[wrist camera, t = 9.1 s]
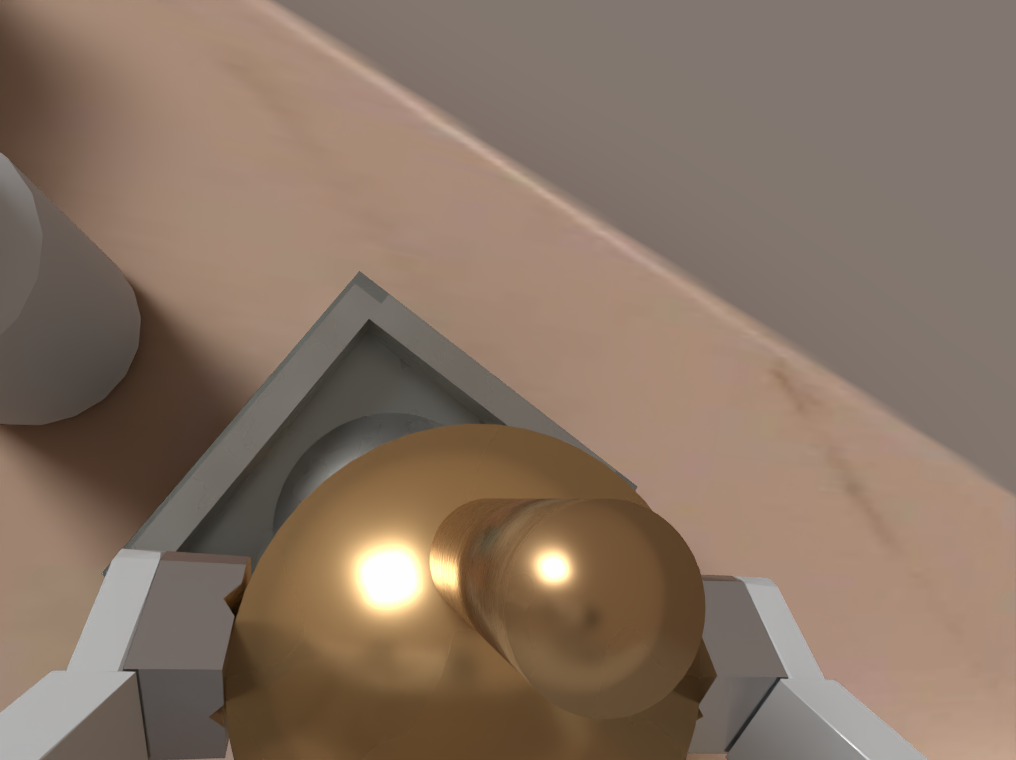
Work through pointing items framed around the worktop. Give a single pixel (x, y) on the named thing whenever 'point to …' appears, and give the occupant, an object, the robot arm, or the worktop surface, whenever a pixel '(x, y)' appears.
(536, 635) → the spout can
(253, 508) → the grey square box
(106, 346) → the can
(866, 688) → the worktop surface
